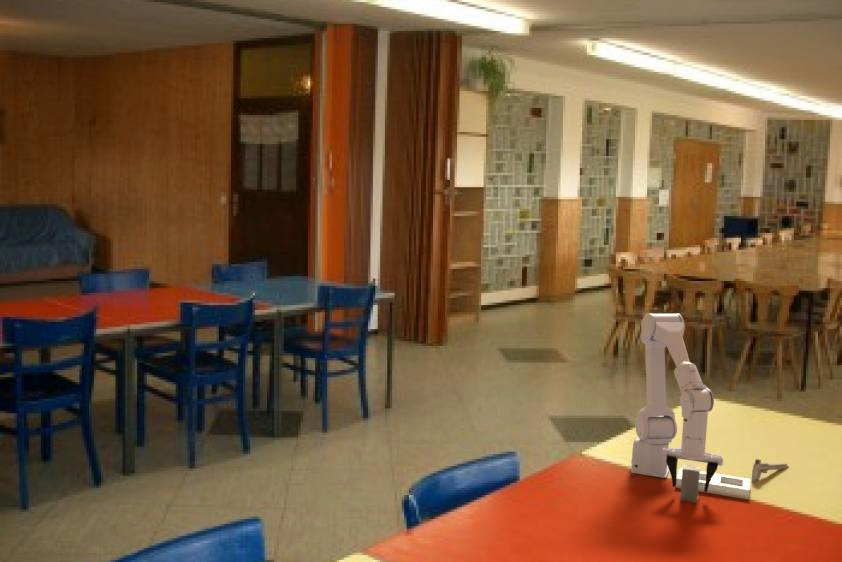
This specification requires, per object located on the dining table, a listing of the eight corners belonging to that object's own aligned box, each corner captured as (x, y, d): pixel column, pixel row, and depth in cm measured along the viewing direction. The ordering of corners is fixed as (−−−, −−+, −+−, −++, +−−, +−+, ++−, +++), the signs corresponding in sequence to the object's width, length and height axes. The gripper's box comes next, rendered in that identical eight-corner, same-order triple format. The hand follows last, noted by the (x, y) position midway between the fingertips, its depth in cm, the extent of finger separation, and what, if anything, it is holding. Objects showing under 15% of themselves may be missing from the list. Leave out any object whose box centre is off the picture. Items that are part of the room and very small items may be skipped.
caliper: (755, 483, 237) (757, 461, 236) (751, 482, 237) (753, 460, 236) (789, 468, 250) (791, 446, 250) (785, 466, 251) (787, 445, 250)
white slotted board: (675, 487, 231) (676, 478, 230) (679, 476, 239) (679, 467, 239) (748, 499, 224) (749, 490, 224) (749, 487, 232) (750, 478, 232)
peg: (680, 500, 222) (682, 469, 221) (681, 494, 226) (684, 464, 225) (696, 502, 221) (699, 472, 220) (698, 497, 224) (700, 467, 223)
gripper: (662, 436, 220) (658, 488, 222) (723, 444, 215) (719, 498, 216) (665, 428, 226) (662, 479, 228) (725, 437, 221) (720, 489, 223)
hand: (690, 488), depth 223 cm, fingers open, 7 cm apart
